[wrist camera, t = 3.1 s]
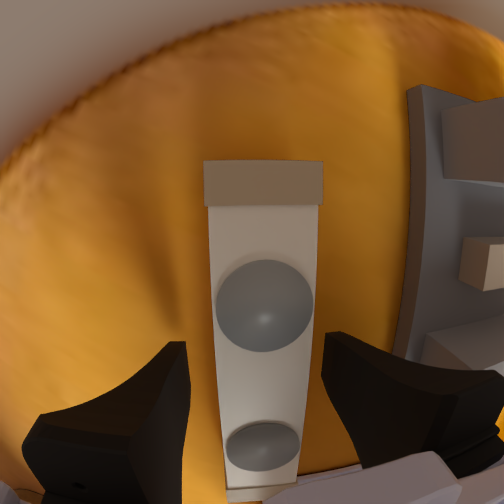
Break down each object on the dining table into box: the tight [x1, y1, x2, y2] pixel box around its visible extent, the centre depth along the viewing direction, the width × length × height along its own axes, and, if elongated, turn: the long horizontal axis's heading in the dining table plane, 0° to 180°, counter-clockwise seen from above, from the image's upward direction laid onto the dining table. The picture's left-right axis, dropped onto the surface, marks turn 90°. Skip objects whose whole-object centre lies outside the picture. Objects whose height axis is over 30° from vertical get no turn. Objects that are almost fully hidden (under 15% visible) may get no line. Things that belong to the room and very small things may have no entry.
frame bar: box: [203, 160, 323, 503], centre depth 11 cm, size 3×14×4 cm, turn 0°
